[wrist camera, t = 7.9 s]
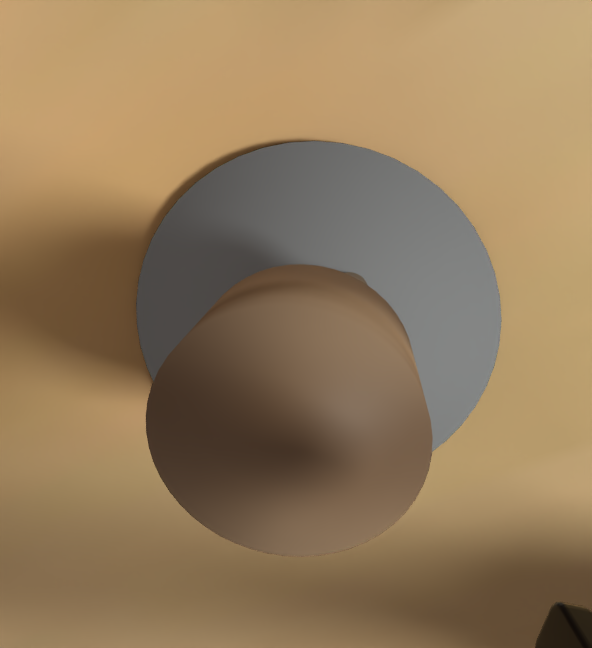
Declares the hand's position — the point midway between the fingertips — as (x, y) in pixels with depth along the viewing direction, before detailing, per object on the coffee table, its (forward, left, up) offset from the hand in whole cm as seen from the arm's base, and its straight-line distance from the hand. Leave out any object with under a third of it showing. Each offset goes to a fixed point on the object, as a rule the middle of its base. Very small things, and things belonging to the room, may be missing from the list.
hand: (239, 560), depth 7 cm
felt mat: (0, 0, -10) cm, 10 cm away
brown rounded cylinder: (0, 0, -10) cm, 10 cm away
